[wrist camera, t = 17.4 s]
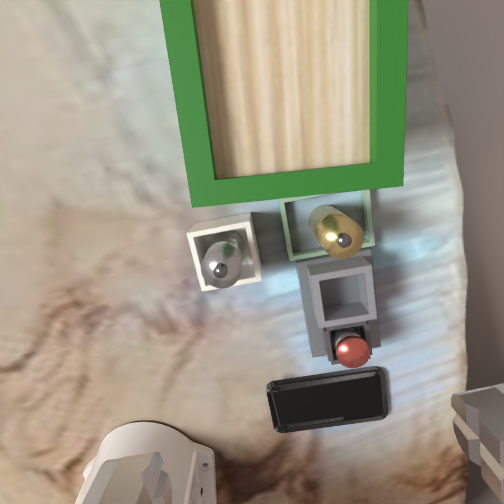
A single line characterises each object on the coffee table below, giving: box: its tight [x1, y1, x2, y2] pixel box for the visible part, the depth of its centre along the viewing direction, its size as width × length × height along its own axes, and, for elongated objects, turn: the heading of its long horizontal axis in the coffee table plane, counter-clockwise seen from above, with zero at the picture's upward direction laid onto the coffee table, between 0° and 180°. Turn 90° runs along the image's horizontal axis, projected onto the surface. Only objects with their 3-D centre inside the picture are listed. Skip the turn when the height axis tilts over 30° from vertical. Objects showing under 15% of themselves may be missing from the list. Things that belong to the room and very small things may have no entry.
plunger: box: [332, 327, 370, 368], centre depth 35 cm, size 3×3×3 cm
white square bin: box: [187, 212, 262, 291], centre depth 34 cm, size 6×6×5 cm
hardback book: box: [159, 0, 408, 208], centre depth 20 cm, size 18×7×24 cm, turn 6°
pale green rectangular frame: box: [278, 190, 375, 261], centre depth 35 cm, size 7×9×1 cm
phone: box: [267, 366, 388, 433], centre depth 42 cm, size 8×1×15 cm
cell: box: [309, 205, 364, 259], centre depth 32 cm, size 4×4×9 cm
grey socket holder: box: [295, 247, 381, 365], centre depth 36 cm, size 12×8×5 cm, turn 11°
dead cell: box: [201, 230, 245, 288], centre depth 32 cm, size 4×4×9 cm
